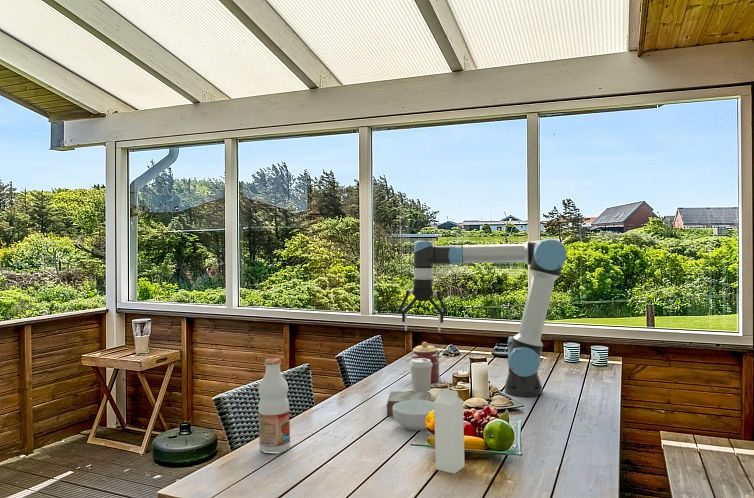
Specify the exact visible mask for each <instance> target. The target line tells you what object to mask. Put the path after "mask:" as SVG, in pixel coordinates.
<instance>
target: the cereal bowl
mask: <svg viewBox="0 0 754 498" xmlns="http://www.w3.org/2000/svg"><path fill="white" fill-rule="evenodd" d="M392 409H393V416H392V417H393V418H394V421H395V422H396V423H398V424H399V425H400V426H403V427H405V428H406V429H408V430H411V431H424V430H427V429H426V424H425V419H426V416H427V415H428V414H429V412H430V411H432V410H434V401H432V400H431V401H426V400H406V401H401V402H398V403H396V404H394V405H393V408H392Z"/></svg>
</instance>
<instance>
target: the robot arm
mask: <svg viewBox="0 0 754 498" xmlns="http://www.w3.org/2000/svg"><path fill="white" fill-rule="evenodd" d="M413 246H414V247H413V278H414V279H413V290H409V289H406V292H405V296H404V298H403V300H402V301H401V304H400V305H399V308H398V310H397V313H399V314H401V322H402V323H404V331H405V332H407V331H408V330H407V329H408V314H407V312H408V311H409V310H410V309H411V308H412V306H413V305H414V304H415V303H416V302H417V301H418V302H424V303H425V302H428V301H429V303H430V304H431V305H432V306H433V307H434V308H435V309H436V311H437V312H438V313H439V314H438V315H437V316H438V319H437V321H438V322H437V323H438V324H437V327H438V329H437V331H438V332H441V324H443V322H444V315H447V314H448V313H449V312H448V309H447V307H446V304H445V303H444V301H443V299H442V297H441V293H440V292H441V291H440V290H433V279H432V278H433V265H452V266H455V265H461V264H469V263H470V264H481V263H483V264H486V263H487V264H489V263H490V264H491V263H492V264H494V263H496V264H497V263H504V264H505V263H510V264H511V263H525V265H527V266H528V265H529V266H530V267H529V271H530V273H531V280H530V284H529V287H528V292H527V295H526V300H525V304H524V308H523V312H522V317H521V321H520V325H519V328H518V333H517V334H515V335H513V336H508V339H507V352H508V353H507V354H508V355H507V364H508V373H507V378H506V380H505V384H504V391H505V393H506V394H509V395H511V396H517V397H534V396H537V397H538V396H540V395H542V394H543V385H542V383H541V380H540V376H539V373H538V372H539V371H538V370H539V368H540V366H541V360H540V359H541V354H542V350H543V346H544V344H543V342H542V341H541V339H542V334H543V329H544V326H545V321H546V317H547V315H548V310H549V306H550V301H551V297H552V293H553V289H554V286H555V281H556V280H557V279H558V278H560V277H561V275H562V270H563V266H564V264H565V262H566V260H567V255H568V254H567V249H566V247H565V245H564V244H563V243H562V242H561V241H560V240H558V239H555V238H549V237H548V238H544V239H543V238H542V239H539V240H534V241H526V242H524V243H518V244H517V243H515V244H514V243H511V244H509V243H508V244H503V243H502V244H466V245H465V244H464V245H462V244H461V245H460V244H459V245H458V244H457V245H454V244H450V245H434V244H433V241H432V240H416V241H415V242H414V244H413ZM411 295H413V297H414V298H413V299H412V300H411V301H410V302H409V303H408V304H407V306H406V307H405V304H406V303H407V300H408V298H409V297H410V296H411ZM433 295H434V296H435V297H437V299H438V301H439V303H440V305H441V307H442V309H443V310H442V309H441V308H440V307H439V306H438V304H437V303H436V302H435V301H434V300H433V299H432V296H433ZM404 307H405V308H404ZM403 308H404V309H403Z"/></svg>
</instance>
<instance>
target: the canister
mask: <svg viewBox="0 0 754 498" xmlns="http://www.w3.org/2000/svg"><path fill="white" fill-rule="evenodd" d="M437 351H438V348H437V347H435V346H433V345H429V344H428V342H427V341H423V342H422V343H421V345H417V346H415V347H414V348H413V349H412V353H411V354H410V356H411V360H412V359H417V358H426V359H430V360H431V362H432V365H433V366H432V367H431V382H430V384H433V383H434V384H435V383H437V382H439V381H440V360H439V356H440V354H439V353H438V352H437ZM410 375H411V374H410ZM410 378H411V379H412V375H411V377H410Z"/></svg>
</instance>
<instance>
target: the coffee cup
mask: <svg viewBox="0 0 754 498" xmlns="http://www.w3.org/2000/svg"><path fill="white" fill-rule="evenodd" d="M432 366H433V365H432V362H431V360H430V359H426V358H417V359H412V358H411V360H410V362H409V367H410V375H412V378H411V383H412V385H411V386H412V392H428V391H430V392H431V383H430V382H431V367H432Z"/></svg>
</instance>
